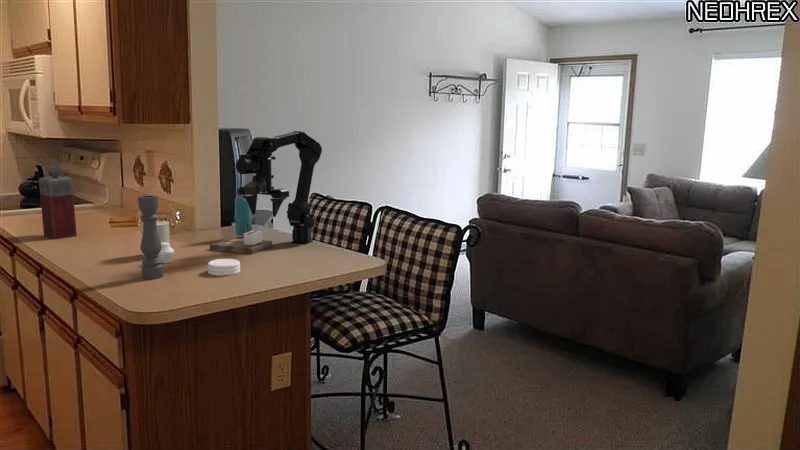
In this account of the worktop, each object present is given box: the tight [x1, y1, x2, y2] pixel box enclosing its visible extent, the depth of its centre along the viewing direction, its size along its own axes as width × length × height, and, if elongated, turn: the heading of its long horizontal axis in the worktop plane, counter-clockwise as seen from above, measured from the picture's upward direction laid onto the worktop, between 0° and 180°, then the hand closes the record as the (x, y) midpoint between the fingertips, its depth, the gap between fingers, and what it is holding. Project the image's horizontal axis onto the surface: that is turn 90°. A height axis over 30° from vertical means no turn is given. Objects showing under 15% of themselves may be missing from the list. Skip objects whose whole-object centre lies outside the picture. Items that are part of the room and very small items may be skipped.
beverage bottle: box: [234, 188, 253, 237], centre depth 258 cm, size 6×7×20 cm
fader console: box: [209, 236, 273, 255], centre depth 242 cm, size 18×14×2 cm
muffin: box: [158, 242, 175, 264], centre depth 219 cm, size 6×6×7 cm
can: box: [140, 220, 171, 258], centre depth 228 cm, size 9×9×12 cm
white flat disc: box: [207, 258, 241, 277], centre depth 207 cm, size 10×10×4 cm
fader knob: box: [243, 230, 263, 245], centre depth 239 cm, size 4×6×4 cm, turn 161°
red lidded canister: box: [38, 165, 78, 240], centre depth 257 cm, size 9×11×28 cm
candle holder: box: [137, 194, 164, 280], centre depth 199 cm, size 6×6×25 cm
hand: (263, 215), depth 235 cm, fingers open, 9 cm apart
